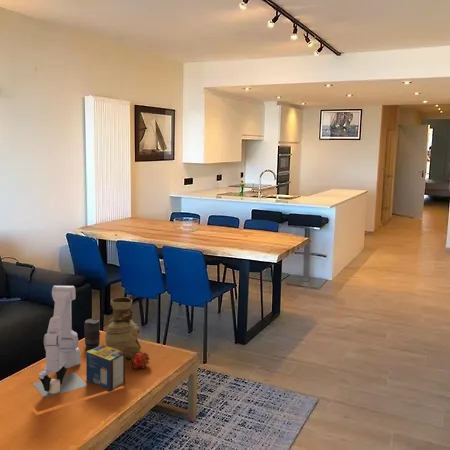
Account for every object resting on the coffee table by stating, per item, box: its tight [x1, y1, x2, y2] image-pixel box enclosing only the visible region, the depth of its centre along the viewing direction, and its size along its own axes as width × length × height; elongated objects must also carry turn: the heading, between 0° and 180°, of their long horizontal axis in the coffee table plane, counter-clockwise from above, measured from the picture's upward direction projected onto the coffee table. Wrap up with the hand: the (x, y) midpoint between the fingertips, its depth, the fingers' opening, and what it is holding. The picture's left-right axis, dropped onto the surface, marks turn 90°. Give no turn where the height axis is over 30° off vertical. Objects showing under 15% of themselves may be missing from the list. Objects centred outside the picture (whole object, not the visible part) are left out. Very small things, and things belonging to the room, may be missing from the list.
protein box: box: [85, 344, 126, 392], centre depth 230 cm, size 10×15×16 cm
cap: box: [48, 379, 60, 394], centre depth 220 cm, size 5×5×5 cm
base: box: [31, 371, 89, 399], centre depth 226 cm, size 20×16×4 cm
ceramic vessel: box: [105, 296, 142, 360], centre depth 262 cm, size 19×21×30 cm
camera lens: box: [83, 318, 101, 350], centre depth 269 cm, size 8×8×15 cm
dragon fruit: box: [130, 350, 150, 370], centre depth 248 cm, size 8×8×12 cm
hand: (53, 387), depth 220 cm, fingers open, 7 cm apart
